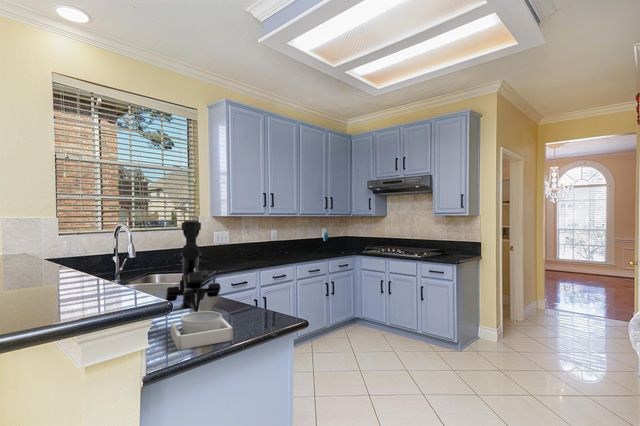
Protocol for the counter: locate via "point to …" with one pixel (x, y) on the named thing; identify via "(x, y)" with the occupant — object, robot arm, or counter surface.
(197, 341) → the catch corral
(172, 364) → the counter surface
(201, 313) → the ramekin
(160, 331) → the counter surface
